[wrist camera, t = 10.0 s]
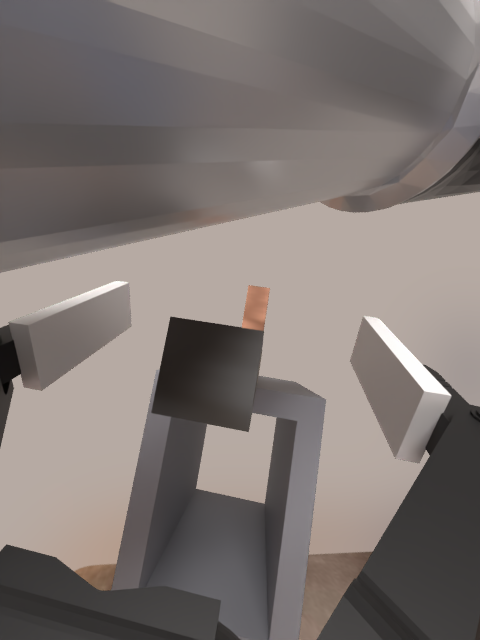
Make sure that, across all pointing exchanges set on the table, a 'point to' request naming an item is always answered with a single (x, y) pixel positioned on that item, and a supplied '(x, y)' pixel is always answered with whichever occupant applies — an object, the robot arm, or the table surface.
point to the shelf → (228, 518)
